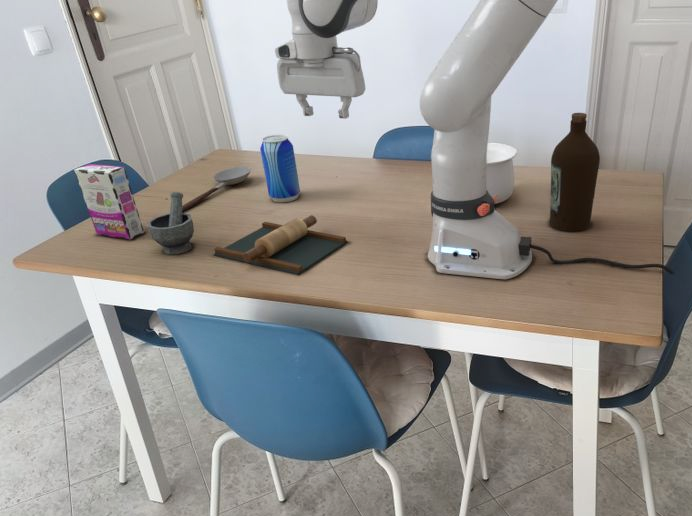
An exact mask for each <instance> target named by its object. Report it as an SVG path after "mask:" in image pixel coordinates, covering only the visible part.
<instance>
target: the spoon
mask: <svg viewBox="0 0 692 516" xmlns="http://www.w3.org/2000/svg"><path fill="white" fill-rule="evenodd" d="M251 171H252V168H251V167H249V166H237V167H231V168H227V169H224V170H222V171H219V172H217V173H215V174H214V175H213V176H212V178H213V180H214V181H215V182H218V184H217V185H216V186H214V187H212V188H211V189H209V190H208V191H205V192H203V193H202V194H200V195H198V196H196V197H194V198H193V199H191V200H190V201H188V202H187V203H186V202H185V204H182V212H185V211H186V210H189V209H190V208H192V207H194V206H196V205H197V204H199V203H201V202H203V201H204V200H205V199H207V198H208V197H209V196H210V195H212V194H213V193H215V192H216V191H218V190H220V189H223V188H224V187H225V186H232V185H233V186H234V185H237V184H238V185H239V184H240V183H241V182H243V181H245V180H246V179H247V178H248V176H249V175H250V173H251Z"/></svg>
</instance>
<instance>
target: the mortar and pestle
mask: <svg viewBox="0 0 692 516" xmlns="http://www.w3.org/2000/svg"><path fill="white" fill-rule="evenodd" d="M169 196H170V198H171V199H170V207H169V208H170V210H169V213H165V214H162V215H159V216H155V217H153V218H152V219H150V220H149V221H147V229H148V232H149V234H150V236H151V238H152V239H153V241H155V242H156V243H157V244H158V245H160V246H162V249H163V253H164V254H166V255H180V254H182V253H185V252H188V251H189V250H191V249H192V245H191V242H190V241H191V239H192V238H193V236H194V232H195V226H194V221H193V218H192V215H191V214H189V213H185V212H183V211H182V206H183V198H184V193H182V192H179V191H172V192H170V195H169Z"/></svg>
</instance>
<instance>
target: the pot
mask: <svg viewBox="0 0 692 516" xmlns="http://www.w3.org/2000/svg"><path fill="white" fill-rule="evenodd" d="M517 155H518V152H517V149H516V148H515V147H513V146H511V145H508V144H506V143H505V144H504V143H500V142H489V141H488V145H487V175H486V189H487V191H488V193H489V194H490V196H491V197H492V198H494V197H495V196H496V195H498V197H497V199H498V200H497V201H496V202H495V203H494V205H496V204H500V203H503V202H505V201H507V200H509V198H510V197H511V196H512V195H513V191H514V188H515V168H514V160H513V159H515V157H516V156H517Z"/></svg>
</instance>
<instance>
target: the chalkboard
mask: <svg viewBox="0 0 692 516" xmlns="http://www.w3.org/2000/svg"><path fill="white" fill-rule="evenodd" d="M283 225H284V224H279V223H274V222H268V221H264V222H262V223H261V226H262V227H260V228H258V229H256V230H255V231H253V232H251V233H250V234H247V235H246V236H243V237H242V238H240V239H238V240H236V241H234V242H232V243H231V244H229V245H227V246H225V247H221V246H217V247H215V248H213V249H214V253H213V256H215V257H219V258H223V259H228V260H233V261H237V262H240V263H245V264H250V265H254V266H258V267H263V268H267V269H271V270H275V271H281V272H284V273H289V274H293V275H296V276H299V275H301V274H302V273H304V272H305V271H307V270H309V269H310V268H311V267H313V266H315V265H316V264H318V263H319V262H320V261H322V260H323V259H325V258H327V257H328V256H330V255H332V253H334V252H336V251H337V250H339V249H340V248H342V247H343V246H345V245H346V244H347V243H348V240H347V237H346V236H341V235H338V234H337V235H336V234H331V233H325V232H320V231H315V230H311V229H308V231H307V234H306V235H305V236H304V237H302V238H300V239H298V240H297V241H295V242H293V243H292V244H290V245H288V246H287V247H285V248H283V249H282V250H280V251H278V252H277V253H275V254H273V255H272V256H270V257H268V258H266V257H261V256H260V257H258V258H256V259H255V260H253V261H251V262H249V263H248V262H246V261H245V260H244V258H243V254H244V253H245V252H247V251H249V250H251V249H252V248H254V247H255V242H256V240H258V239H259V238H261V237H263V236H265V235H267V234H268V233H270V232H272V231H274V230H276V229H277V228H279V227H281V226H283Z"/></svg>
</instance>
